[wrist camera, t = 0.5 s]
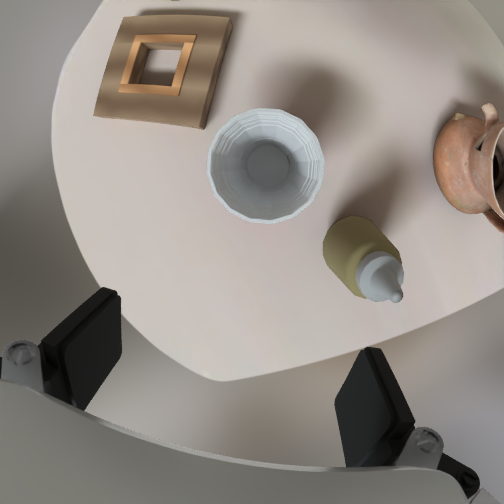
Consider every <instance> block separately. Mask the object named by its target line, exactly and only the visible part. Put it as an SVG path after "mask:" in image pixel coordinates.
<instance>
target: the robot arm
mask: <svg viewBox="0 0 504 504" xmlns="http://www.w3.org/2000/svg"><path fill="white" fill-rule="evenodd" d="M121 353H122V340H121V297H120V296H118V294H117V292H116V291H115V290H112V289H108V288H105V287H102V288H101V289H99V290H98V291H97V292H96V293H95V294H94V295H92V296H91V297H90V298H89V299H88V300H86V301H85V302H84V303H83V304H82V305H80V306H79V307H78V308H77V309H76V310H75V311H74V312H72V313H71V314H70V315H69V316H68V317H67V318H66V319H65V320H63V321H62V322H61V323H60V324H59V325H58V326H57V327H55V328H54V329H53V330H52V331H51V332H50V333H49V334H48V335H47V336H46V337H45V338H43V339H42V340H41V343H40V344H39V345H38V346H37V345H36V344H34V343H33V342H30V341H27V340H19V341H14V342H12V343H10V344H9V345H7V346H6V348H5V349H4V352H3V356H2V357H0V504H500V503H499V502H498V501H497V500H496V499H495V498H494V497H493V496H492V495H491V494H490V493H489V492H487V491H486V490H485V489H484V488H481V489H479V486H480V481H479V477H478V475H477V474H476V473H475V471H473V470H472V469H471V468H469V467H467V466H465V465H463V464H462V463H460V462H458V461H456V460H455V459H453V458H451V457H449V456H448V455H446V454H444V453H442V452H443V448H444V443H443V440H442V438H441V436H440V435H439V434H438V433H437V432H436V431H434V430H433V429H430V428H428V427H418V428H416V429H415V427H414V423H415V419H414V417H413V415H412V412H411V410H410V408H409V406H408V404H407V401H406V399H405V397H404V395H403V393H402V391H401V389H400V386H399V384H398V382H397V380H396V378H395V376H394V374H393V372H392V370H391V368H390V366H389V364H388V362H387V360H386V358H385V356H384V354H383V352H382V350H381V349H380V348H372V347H366V348H365V349H364V350H361V351H360V353H359V354H358V357H357V358H356V361H355V362H354V364H353V366H352V368H351V370H350V372H349V374H348V376H347V378H346V380H345V382H344V384H343V385H342V387H341V389H340V391H339V393H338V395H337V396H336V399H335V410H336V415H337V420H338V425H339V430H340V436H341V440H342V446H343V451H344V457H345V463H346V467H309V466H294V465H282V464H273V463H265V462H258V461H250V460H244V459H238V458H232V457H227V456H222V455H217V454H212V453H208V452H202V451H198V450H195V449H190V448H187V447H183V446H179V445H176V444H172V443H169V442H165V441H162V440H159V439H155V438H152V437H149V436H146V435H143V434H140V433H137V432H134V431H132V430H129V429H126V428H124V427H121V426H118V425H116V424H113V423H111V422H108V421H106V420H103V419H101V418H98V417H96V416H94V415H91V414H89V413H87V412H85V411H84V410H85V409H86V407H87V406H88V404H89V403H90V401H91V400H92V398H93V397H94V395H95V394H96V392H97V391H98V389H99V388H100V386H101V385H102V383H103V382H104V380H105V379H106V377H107V376H108V375H109V373H110V372H111V370H112V369H113V367H114V366H115V364H116V363H117V362H118V360H119V359H120V357H121Z"/></svg>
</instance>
